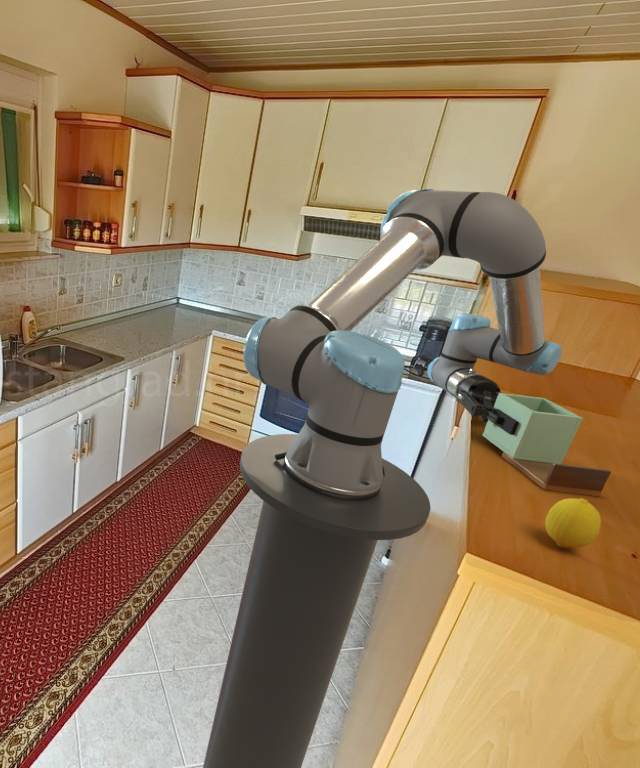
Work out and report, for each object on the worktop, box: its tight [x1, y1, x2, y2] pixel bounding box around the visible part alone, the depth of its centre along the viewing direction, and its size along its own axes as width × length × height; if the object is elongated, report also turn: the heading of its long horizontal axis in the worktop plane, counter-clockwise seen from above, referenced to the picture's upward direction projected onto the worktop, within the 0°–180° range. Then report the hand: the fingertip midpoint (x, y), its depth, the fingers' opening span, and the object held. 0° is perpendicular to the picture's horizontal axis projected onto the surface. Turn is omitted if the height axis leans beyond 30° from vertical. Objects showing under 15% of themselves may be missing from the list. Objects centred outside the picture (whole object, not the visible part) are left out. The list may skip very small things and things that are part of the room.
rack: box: [501, 451, 612, 497], centre depth 90 cm, size 12×9×5 cm
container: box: [481, 392, 584, 464], centre depth 96 cm, size 10×9×10 cm
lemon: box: [544, 497, 602, 549], centre depth 68 cm, size 6×6×8 cm
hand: (540, 431), depth 93 cm, fingers closed on container, 9 cm apart
